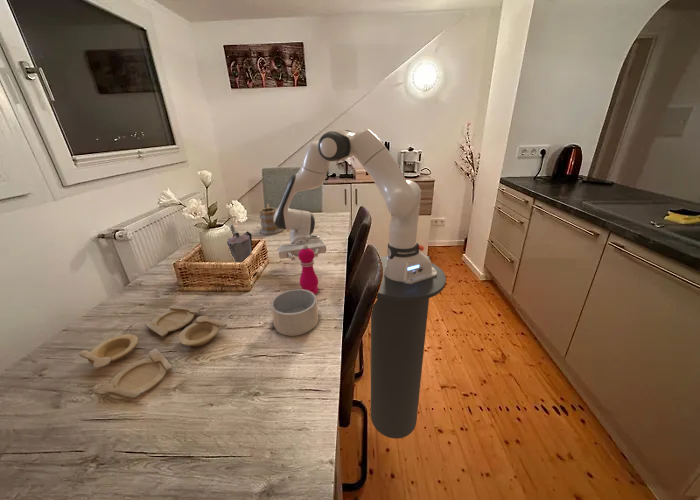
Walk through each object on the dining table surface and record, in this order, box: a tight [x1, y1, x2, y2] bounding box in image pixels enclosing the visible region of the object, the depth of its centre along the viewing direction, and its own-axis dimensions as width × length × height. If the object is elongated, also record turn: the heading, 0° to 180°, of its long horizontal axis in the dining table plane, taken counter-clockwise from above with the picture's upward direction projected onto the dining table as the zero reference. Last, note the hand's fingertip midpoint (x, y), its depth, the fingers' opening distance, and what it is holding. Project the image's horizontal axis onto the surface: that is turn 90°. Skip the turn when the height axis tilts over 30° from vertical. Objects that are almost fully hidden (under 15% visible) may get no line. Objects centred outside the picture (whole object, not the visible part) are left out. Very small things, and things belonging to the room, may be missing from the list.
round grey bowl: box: [270, 288, 319, 337], centre depth 93 cm, size 15×15×8 cm
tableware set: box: [78, 304, 228, 400], centre depth 84 cm, size 35×29×4 cm
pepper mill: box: [298, 245, 319, 295], centre depth 107 cm, size 7×7×20 cm
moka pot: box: [226, 230, 253, 263], centre depth 122 cm, size 10×15×20 cm, turn 170°
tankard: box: [259, 203, 283, 236], centre depth 178 cm, size 20×13×15 cm, turn 13°
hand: (304, 256), depth 114 cm, fingers open, 8 cm apart
